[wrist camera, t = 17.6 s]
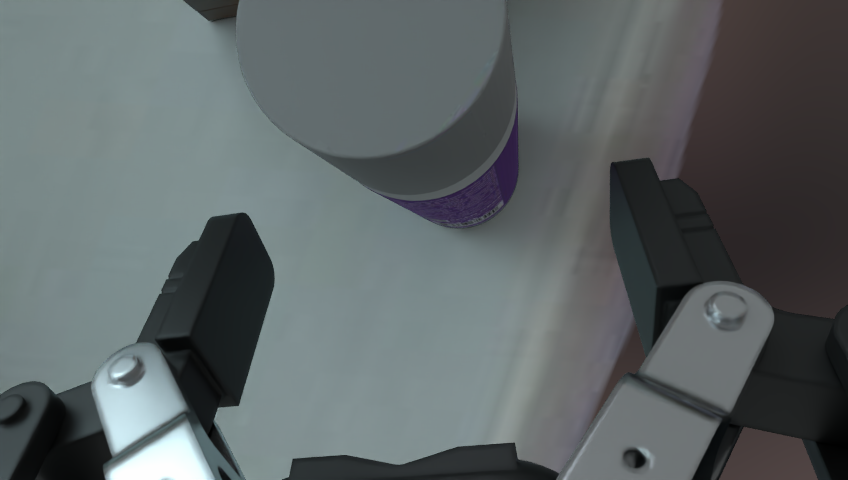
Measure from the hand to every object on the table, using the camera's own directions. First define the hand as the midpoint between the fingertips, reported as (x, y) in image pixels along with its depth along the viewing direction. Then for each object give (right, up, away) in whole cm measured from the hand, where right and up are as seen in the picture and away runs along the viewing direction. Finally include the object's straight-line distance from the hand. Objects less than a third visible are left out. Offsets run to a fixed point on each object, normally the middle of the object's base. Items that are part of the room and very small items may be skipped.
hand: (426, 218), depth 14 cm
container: (+1, +2, +11) cm, 11 cm away
